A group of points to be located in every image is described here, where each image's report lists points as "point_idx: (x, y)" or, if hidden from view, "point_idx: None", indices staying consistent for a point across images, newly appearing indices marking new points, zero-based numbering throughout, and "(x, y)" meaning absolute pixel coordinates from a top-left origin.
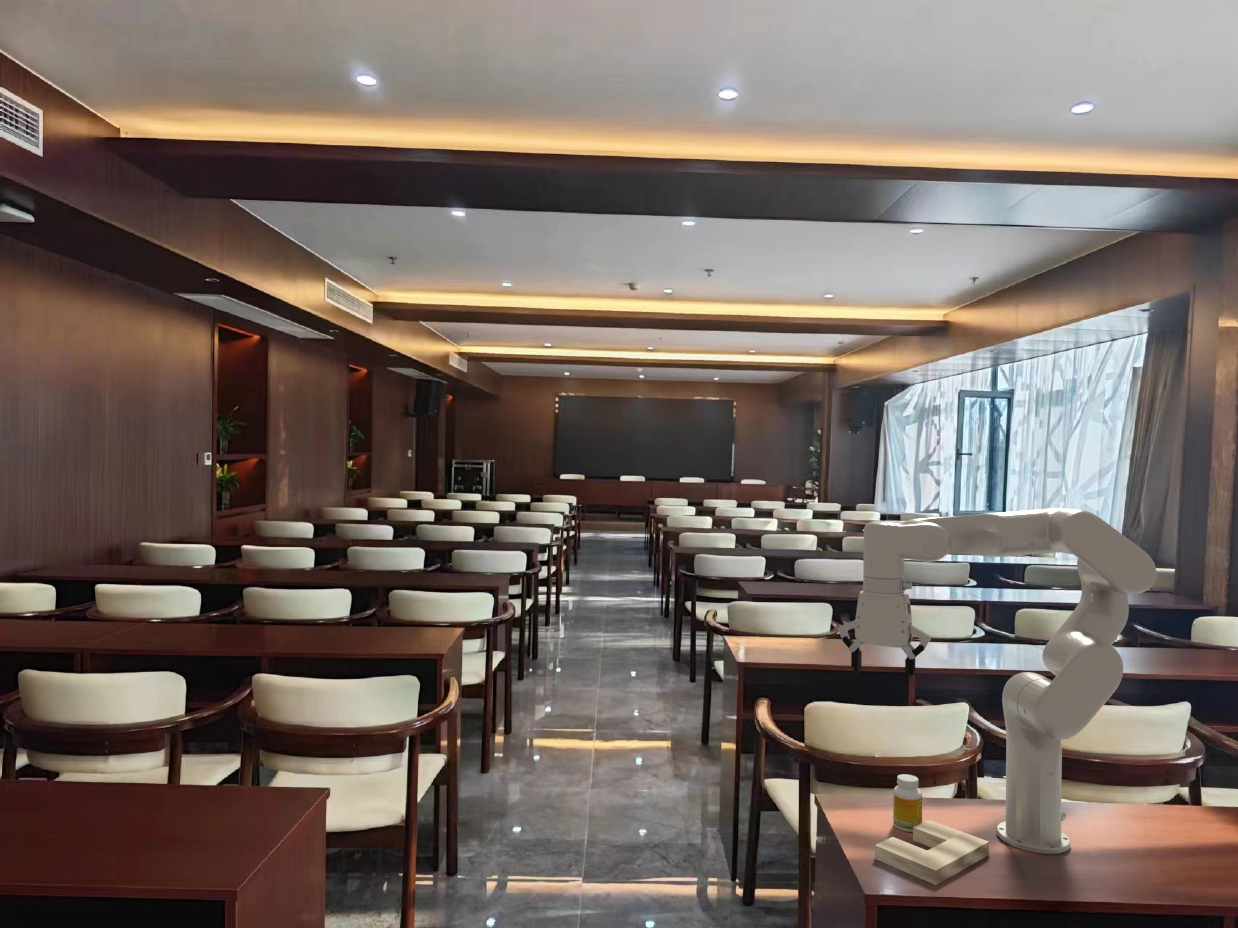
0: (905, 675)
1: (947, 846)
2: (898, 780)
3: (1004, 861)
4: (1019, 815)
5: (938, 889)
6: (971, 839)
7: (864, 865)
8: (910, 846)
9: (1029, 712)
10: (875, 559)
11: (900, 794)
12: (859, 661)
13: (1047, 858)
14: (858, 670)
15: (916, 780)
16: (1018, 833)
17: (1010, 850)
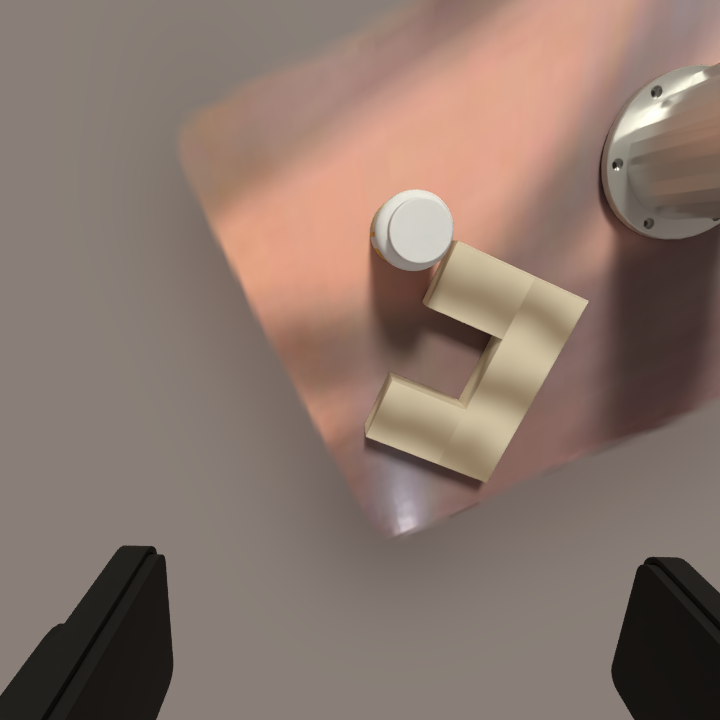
0: (634, 713)
1: (503, 371)
2: (394, 250)
3: (601, 310)
4: (692, 209)
5: None
6: (552, 309)
7: (352, 458)
8: (432, 407)
9: None
10: None
11: (399, 268)
12: (119, 717)
13: (689, 249)
14: (165, 655)
15: (448, 242)
16: (657, 209)
17: (619, 247)
